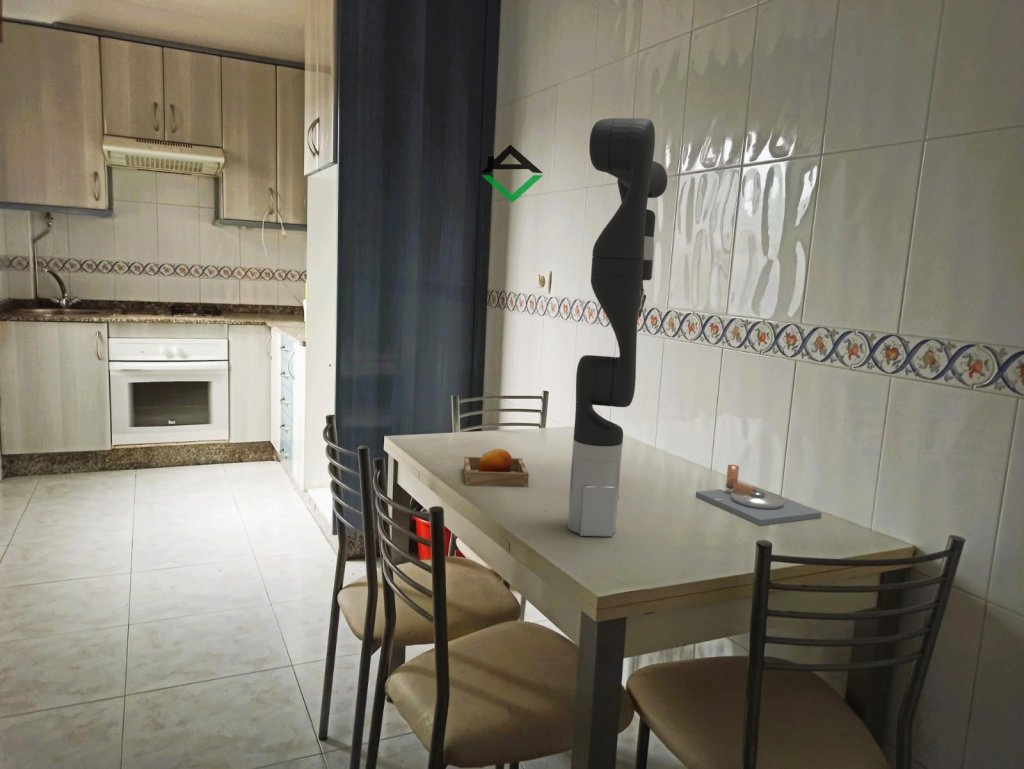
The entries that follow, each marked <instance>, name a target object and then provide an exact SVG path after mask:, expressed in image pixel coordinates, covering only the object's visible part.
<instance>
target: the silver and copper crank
mask: <svg viewBox="0 0 1024 769" xmlns="http://www.w3.org/2000/svg"><path fill="white" fill-rule="evenodd" d="M739 468H740V466H739V465H736V464H727V469H726V481H725V489H734V490H733V491H732V492H731V499H732V501H734V502H736V503H738V504H740V505H743V506H747V507H752V508H758V509H779V508H782V507H783V506H784V498H785V497H784V496H782V495H779V494H777V493H774V492H771V491H768V490H765V491H764V489H762V490H757V489H756V487H757V486H755V487H752V486H753V485H748V484H745V483H743V482H739V481H738V480H739V470H740V469H739Z"/></svg>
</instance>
